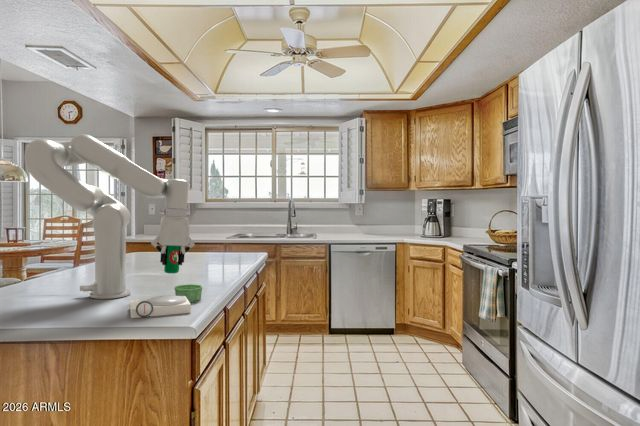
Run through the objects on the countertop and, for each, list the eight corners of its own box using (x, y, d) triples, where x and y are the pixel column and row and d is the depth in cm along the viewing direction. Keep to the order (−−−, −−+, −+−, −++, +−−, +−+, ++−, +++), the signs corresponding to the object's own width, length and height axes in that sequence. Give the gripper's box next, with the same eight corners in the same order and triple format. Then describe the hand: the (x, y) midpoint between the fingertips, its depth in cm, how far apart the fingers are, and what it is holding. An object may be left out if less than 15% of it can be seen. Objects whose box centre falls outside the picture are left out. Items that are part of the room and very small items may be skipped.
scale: (130, 318, 115) (130, 302, 115) (130, 308, 126) (130, 293, 126) (191, 313, 121) (191, 297, 121) (185, 303, 133) (185, 289, 133)
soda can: (166, 271, 151) (168, 238, 151) (180, 271, 151) (182, 238, 151) (162, 273, 146) (164, 239, 146) (176, 274, 146) (179, 239, 146)
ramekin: (194, 303, 134) (194, 290, 134) (168, 302, 135) (168, 288, 135) (207, 297, 142) (207, 285, 142) (183, 296, 144) (183, 283, 144)
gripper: (150, 212, 141) (146, 266, 141) (201, 215, 148) (198, 266, 149) (149, 212, 148) (145, 263, 148) (198, 214, 155) (195, 263, 155)
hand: (172, 264), depth 148 cm, fingers closed on soda can, 5 cm apart
